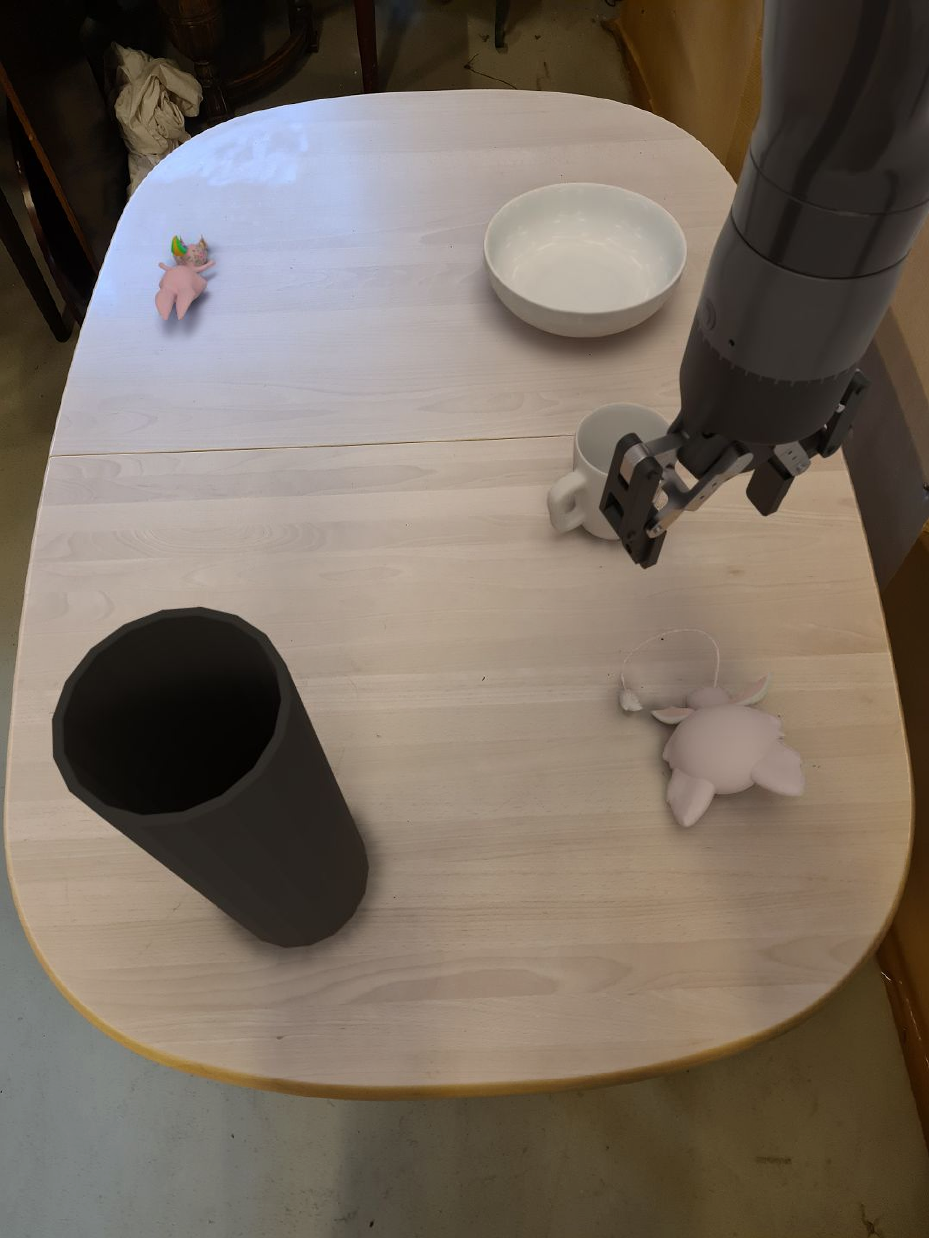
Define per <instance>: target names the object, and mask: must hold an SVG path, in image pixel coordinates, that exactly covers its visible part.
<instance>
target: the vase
mask: <svg viewBox="0 0 929 1238" xmlns="http://www.w3.org/2000/svg"><path fill="white" fill-rule="evenodd" d="M51 737H52V739H51V740H52V743H51V744H52V759H53V761H54V763H55V765H56V767H57V769H58V771H59V774H60V775H61V777H62V780H63V781H64V784H65V786H66V788H67V790H68V792H69V793H71V794H72V795H73V796H75V798H77V799H78V800H79V801H80V802H82V803H83V804H84V805H85V806H87V807H88V808H89V809H90V810H92V811H93V812H94V813H95V814H96V815H98V816H99V817H100V818H101V819H103V820H104V821H106V823H108V824H109V825H110V826H112V827H113V828H114V829H116V830H117V831H118V832H120V833H121V834H122V835H124V837H126V838H127V839H128V840H129V841H131V842H132V843H134V844H135V845H137V846H138V847H139V848H141V849H142V850H143V851H145V853H147V854H148V855H150V856H151V857H152V858H153V859H155V861H157V862H159V863H160V864H161V865H162V866H164V867H165V868H166V869H168V870H169V871H170V872H171V873H173V874H174V875H175V876H177V877H178V878H179V879H181V880H182V881H183V882H184V883H186V884H187V885H189V886H190V887H191V888H192V889H194V890H195V891H196V892H198V893H199V894H200V895H201V896H202V897H204V898H205V899H207V900H208V901H209V902H210V903H212V905H214V906H216V907H217V908H218V909H220V910H221V911H222V912H223V913H224V914H226V915H227V916H228V917H230V919H233V920H234V921H235V922H236V923H238V925H240V926H241V927H243V928H244V929H245V930H246V931H248V932H250V933H251V934H252V935H253V936H255V938H257V939H258V940H260V941H261V942H265V943H268V944H271V945H274V946H279V947H281V948H298V947H308V946H312V945H314V944H317V943H319V942H321V941H323V940H325V939H327V938H329V937H331V936H333V935H336V934H337V932H338V931H339V930H340V929H342V927H343V926H344V925H346V924H347V922H349V921H350V920H351V918H352V917H354V915H355V913H356V911H357V910H358V908H359V905H360V903H361V901H362V899H363V898H364V895H365V894H366V892H367V891H366V889H367V883H368V876H369V871H370V869H369V868H370V867H369V861H368V857H367V851H366V847H365V843H364V841H363V839H362V837H361V834H360V832H359V829H358V827H357V825H356V822H355V820H354V818H353V815H352V813H351V810H350V809H349V808H350V807H349V806H348V804H347V801H346V799H345V797H344V794H343V792H342V790H341V788H340V785H339V783H338V781H337V778H336V775H335V773H334V771H333V769H332V767H331V765H330V762H329V760H328V758H327V755H326V753H325V751H324V748H323V746H322V744H321V742H320V738H319V737H318V734H317V732H316V729H315V727H314V725H313V723H312V721H311V718H310V716H309V714H308V711H307V709H306V706H305V704H304V702H303V700H302V698H301V695H300V692H299V690H298V689H297V686H296V684H295V682H294V678H293V677H292V674H291V672H290V670H289V668H288V665H287V663H286V662H285V660H284V658H283V657H282V656H281V654H280V653H279V651H278V650H277V648H276V646H275V645H274V643H273V642H272V640H271V639H270V637H269V636H268V634H266V633H265V632H264V631H262V630H261V629H259V628H258V627H256V626H254V625H253V624H251V623H250V622H249V621H247V620H246V619H244V618H242V617H241V616H240V615H238V614H234V613H230V612H226V611H221V610H217V609H213V608H209V607H206V606H205V607H204V606H192V607H181V608H179V607H177V608H167V609H161V610H158V611H154V612H153V613H150V614H148V615H144V616H142V617H139V618H136V619H134V620H131V621H129V622H125V623H124V624H123V625H121V626H119V627H118V628H117V629H115V630H114V631H112V632H111V633H110V634H108V636H107V635H106V637H104V638H103V639H102V640H100V641H99V642H98V643H96V644H94V646H92V647H91V648H90V649H89V650H88V651H87V652H86V654H85V655H84V656H83V658H81V660H80V661H79V663H78V664H77V665H76V666H75V668H74V670H73V671H72V672H71V673H70V674H69V676H68V677H67V679H66V680H65V681H64V684H63V687H62V689H61V692H60V695H59V698H58V701H57V703H56V706H55V709H54V712H53V715H52V717H51Z"/></svg>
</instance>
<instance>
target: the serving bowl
mask: <svg viewBox="0 0 929 1238" xmlns="http://www.w3.org/2000/svg"><path fill="white" fill-rule="evenodd" d="M485 228H486V229H485V231H484V236H483V239H482V240H483V241H482V248H483V249H482V252H483V259H484V266H485V269H486V273H487V277H488V279H489V282H490V284H491V286H492V288H493V290H494V292H495V294H496V295H497V296H498V298H499V300H500V301H501V302H502V303H503V305H505V306H506V308H507V309H508V310H510V312H512V314H514V315H516V316H517V317H518V318H519V319H520V320H522V321H523V322H525V323H527V324H528V325H531V326H533V327H534V328H537V329H539V330H541V331H544V332H548V333H550V334H554V335H558V336H563V337H570V338H598V337H605V336H610V335H613V334H618V333H621V332H624V331H627V330H629V329H631V328H633V327H635V326H637V325H639V324H641V323H643V322H644V321H646V320H648V319H649V318H650V317H651V316H653V314H655V313H657V311H658V310H660V309H661V308H662V306H664V304H665V303H666V302H667V301H668V300H669V298H671V296H672V294H673V293H674V291H675V289H676V287H677V285H678V284H679V281H680V280H681V277H682V275H683V272H684V270H685V268H686V265H687V260H688V243H687V238H686V235H685V233H684V230H683V229H682V227H681V226H680V224H679V222H678V221H677V219H675V218H674V217H673V215H672V214H671V213H669V211H668V210H666V209H665V208H664V207H663V206H661V205H660V204H659V203H657V202H656V201H654V200H652V199H650V198H649V197H647V196H644V195H642V194H640V193H637V192H635V191H633V190H629V189H626V188H624V187H620V186H615V185H610V184H605V183H598V182H587V181H586V182H585V181H583V182H582V181H574V182H573V181H572V182H562V183H554V184H549V185H543V186H540V187H537V188H534V189H531V190H528V191H526V192H523V193H522V194H519V195H518V196H516V197H514V198H512V199H510V200H509V201H508V202H505V204H503V206H502V207H500V208H499V209H498V210H497V211H496V213H494V214H493V216H492V217H491V219H490V220H489V222H488V224H487V226H486V227H485Z"/></svg>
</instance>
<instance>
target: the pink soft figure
mask: <svg viewBox="0 0 929 1238" xmlns="http://www.w3.org/2000/svg"><path fill="white" fill-rule="evenodd" d="M200 236H201V238H199V240H198V243H197V244H188V245H186V244H185V242H184V241H183V239H182V236H181V235H179V237H178V235H175V236H174V237H173V238H172V240H171V245H170V252H171V254H172V257H173V259H174V261H175V262H176V264H177V265H173V266H171V267H170V266H167V265H165V263H164V262H159V263H157V265H158V267H159V268H160V269H162V270H163V271H165V272H164V274H163V276H162V277H161V278H160V280H159V283H158V287H159V290H158V291H156V294H155V297H154V305H155V308H156V310H157V312H158V313H159V315H160V317H161V318H162V320H164V321H165V322H167V321H168V320H169V317H170V314H171V312H172V309H173V306H174V304H175V311H176V315H177V320H178V321H181V320H182V319H183V318H184V316H185V315H186V314H187V311H188V309H189V307H190V306H191V304H192V302H193V301H195V300H196V299H198V297H199V296H200V295H201V294H202V293H203V291H205V289H206V288H207V286H208V282H207V280H206V279H205V278H204V277H203V276H201V275H200V273H202V272H204V271H205V270H208V269H209V268H211V267H213V266H215V265H216V261H215V260H214V259H211V260H209V261H207V259H208V253H207V248H209V245H208V243H207V242H206V240H205V239H204V237H203V234H200ZM206 247H207V248H206ZM206 262H207V263H206Z"/></svg>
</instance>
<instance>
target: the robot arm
mask: <svg viewBox="0 0 929 1238" xmlns="http://www.w3.org/2000/svg"><path fill="white" fill-rule="evenodd" d="M761 20H762V21H761V41H760V71H761V72H760V73H761V74H760V75H761V78H760V79H761V80H760V81H761V98H760V99H761V100H760V101H761V102H760V108H759V111H758V114H757V116H756V120H755V123H754V126H753V129H752V133H751V134H750V135H751V136H750V140H749V143H748V145H747V149H746V154H745V156H744V161H743V165H742V167H741V171H740V174H739V178H738V182H737V185H736V189H735V193H734V196H733V200H732V203H731V205H730V209H729V211H728V214H727V217H726V218H725V221H724V223H723V226H722V228H721V230H720V232H719V234H718V236H717V238H716V242H715V244H714V246H713V249H712V252H711V255H710V259H709V262H708V264H707V265H708V266H707V269H706V272H705V276H704V279H703V280H704V281H703V284H702V287H701V291H700V295H699V298H698V302H697V306H696V309H695V313H694V316H693V320H692V323H691V327H690V331H689V334H688V338H687V342H686V345H685V349H684V353H683V357H682V360H681V363H680V368H679V373H678V374H679V375H678V383H679V393H680V410H679V412H678V414H677V415H676V417H675V419H673V421H672V423H670V424H671V425H670V427H669V428H668V430H667V433H666V436H663V437H660V438H658V439H655V440H652V441H649V442H646V443H643V442H642V441H641V439H640V438H639V437H638V436H637V434H636V433H629V434H626V435H625V436H623V437H622V438H621V439H620V440H619V441H618V443H617V444H616V448H615V451H614V455H613V458H612V462H611V465H610V469H609V473H608V476H607V480H606V483H605V487H604V490H603V494H602V498H601V501H600V505H599V510H600V511H601V513H602V514H603V515H604V517H605V518H606V520H607V521H608V522H609V524H610V525H611V527H612V528H613V529H614V531H615V532H616V534H617V535H618V537H619V538H620V539H619V540H620V541H621V545H622V548H623V550H624V551H626V553H627V555H628V557H630V559H631V560H632V562H633V563H634V564H635V565H639V567H641V568H642V570H647V569H649V568H651V567H653V566H656V565H657V564H658V560H659V557H660V555H661V552H662V549H663V545H664V543H665V539H666V536H667V533H668V530H667V529H668V528H669V527H670V526H671V525H672V524H673V523H674V522H675V521H676V520H677V519H678V518H679V517H680V516H681V515H682V514H683V513H684V512H696V511H698V510H699V509H700V508H701V507H702V505H704V504H705V503H706V502H707V501H708V500H709V499H710V497H712V495H714V494H715V492H716V491H717V490H719V488H720V487H721V486H722V485H723V484H724V483H726V482H728V481H730V480H732V479H733V478H735V477H737V476H738V475H740V474H745V473H749V472H752V471H753V473H752V475H751V477H750V479H749V481H748V483H747V486H746V488H745V495H746V497H747V499H748V500H749V502H750V503H751V504H752V505H753V507H754V508H755V509H756V510H757V511H758V513H759V514H760V515H761V516H762V517H768V516H770V515H772V514H775V513H777V512H778V510H779V508H780V506H781V504H782V502H783V500H784V498H785V497H786V496H787V494H788V492H789V490H790V488H791V485H792V484H793V482H794V481H795V478H796V477H798V476H800V475H802V474H804V473H805V472H806V471H808V469H809V468H810V466H812V465H811V464H812V461H811V459H812V458H814V457H816V456H817V455H819V456H820V457H822V459H827V458H830V457H831V456H833V455H834V454H835V453H837V452H838V450H839V449H840V447H841V446H842V444H843V442H844V440H845V438H846V436H847V435H848V432H849V430H850V428H851V426H852V423H853V422H854V419H855V418H856V416H857V413H858V411H859V409H860V408H861V405H862V404H863V401H864V399H865V398H866V395H867V394H868V391H869V389H870V387H871V385H872V382H871V380H869V378H867V377H866V376H865V374H863V372H862V371H861V370H860V369H859V366H860V363H861V362H862V360H863V358H864V356H865V354H866V352H867V350H868V348H869V346H870V344H871V343H872V341H873V339H874V336H875V334H876V332H877V331H878V328H879V327H880V325H881V324H882V321H883V319H884V317H885V315H886V313H887V312H888V309H889V308H890V305H891V304H892V301H893V299H894V296H895V293H896V291H897V288H898V286H899V283H900V279H901V276H902V273H903V271H904V267H905V264H906V262H907V259H908V257H909V254H910V252H911V250H912V248H913V246H914V244H915V242H916V240H917V238H918V236H919V234H920V232H921V230H922V229H923V226H924V224H925V223H926V220H927V219H928V216H929V0H762V19H761ZM677 461H678V462H679V463H680V464H681V466H682V467H684V468H685V469H686V470H687V472H688V473H690V474H691V475H692V476H693V478H694V479H696V480H697V482H696V483H695V484H694V485H693V486H692V487H691V488H689V487H688V485H687V484H686V483H685V481H684V480H683V479H682V477H680V475H679V474H678V473H677V471H676V463H677ZM661 488H662V490H663V491H662V492H663V493H665V495H666V497H667V502H666V504H665V505H663V506H662V507H661V508H660V510H658V509H657V507H656V505H654V504H653V503H652V501H653V499H654V496H655V495H656V493H657V492H658V491H659V490H660V489H661Z"/></svg>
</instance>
